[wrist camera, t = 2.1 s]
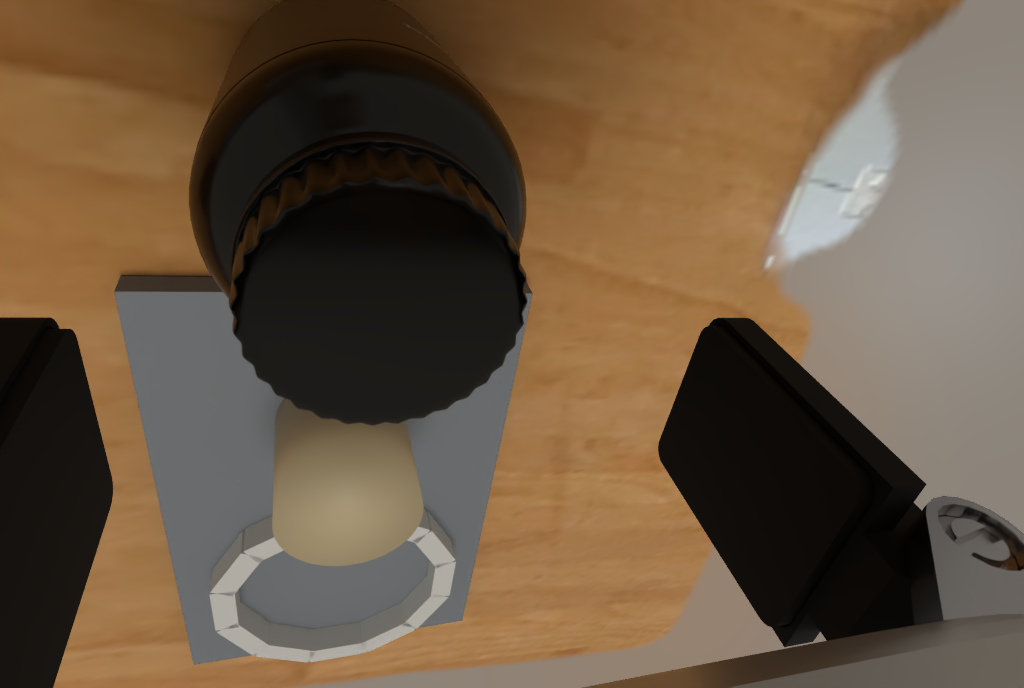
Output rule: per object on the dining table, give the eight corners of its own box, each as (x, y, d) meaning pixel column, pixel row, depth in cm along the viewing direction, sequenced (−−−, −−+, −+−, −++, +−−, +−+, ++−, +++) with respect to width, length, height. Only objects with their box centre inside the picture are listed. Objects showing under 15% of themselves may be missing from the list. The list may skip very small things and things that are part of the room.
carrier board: (120, 275, 21) (71, 393, 16) (525, 280, 25) (578, 373, 20) (196, 645, 33) (180, 773, 28) (458, 605, 37) (482, 709, 33)
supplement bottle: (478, 19, 19) (655, 159, 10) (430, 224, 23) (528, 471, 13) (229, -52, 16) (149, 48, 7) (219, 193, 20) (158, 473, 11)
